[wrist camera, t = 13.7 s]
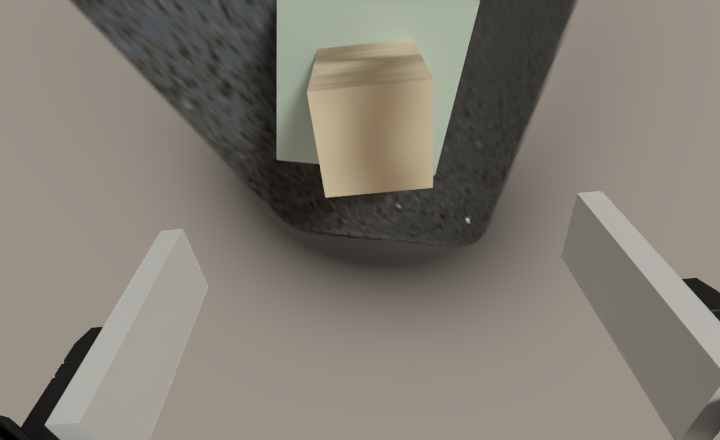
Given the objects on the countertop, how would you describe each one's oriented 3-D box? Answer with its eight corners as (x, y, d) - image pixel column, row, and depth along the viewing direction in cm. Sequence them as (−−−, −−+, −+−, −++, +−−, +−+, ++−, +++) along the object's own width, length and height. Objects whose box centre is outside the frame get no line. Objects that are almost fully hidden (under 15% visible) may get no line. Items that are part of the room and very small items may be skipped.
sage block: (288, 122, 36) (276, 159, 31) (291, -37, 29) (277, -27, 24) (422, 136, 37) (434, 175, 32) (455, -15, 30) (479, 0, 25)
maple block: (331, 136, 30) (325, 197, 23) (317, 49, 26) (306, 92, 20) (414, 128, 29) (432, 187, 23) (412, 38, 26) (433, 78, 19)
